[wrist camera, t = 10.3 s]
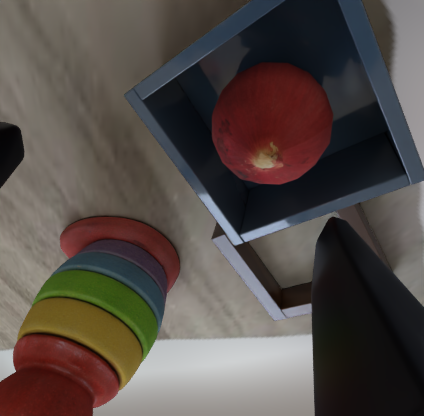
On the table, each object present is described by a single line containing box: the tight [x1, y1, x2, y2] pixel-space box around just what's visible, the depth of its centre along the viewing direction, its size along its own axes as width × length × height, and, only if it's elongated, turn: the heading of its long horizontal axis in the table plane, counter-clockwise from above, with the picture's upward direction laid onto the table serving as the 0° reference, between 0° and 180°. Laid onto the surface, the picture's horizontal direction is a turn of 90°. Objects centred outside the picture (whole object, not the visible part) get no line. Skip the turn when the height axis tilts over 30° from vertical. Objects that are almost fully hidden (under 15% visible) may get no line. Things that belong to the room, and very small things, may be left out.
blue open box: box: [124, 0, 424, 246], centre depth 18 cm, size 10×10×6 cm
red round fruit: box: [212, 62, 333, 185], centre depth 16 cm, size 6×6×8 cm
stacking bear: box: [0, 217, 180, 416], centre depth 24 cm, size 11×10×18 cm
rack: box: [212, 203, 392, 321], centre depth 25 cm, size 10×10×2 cm
